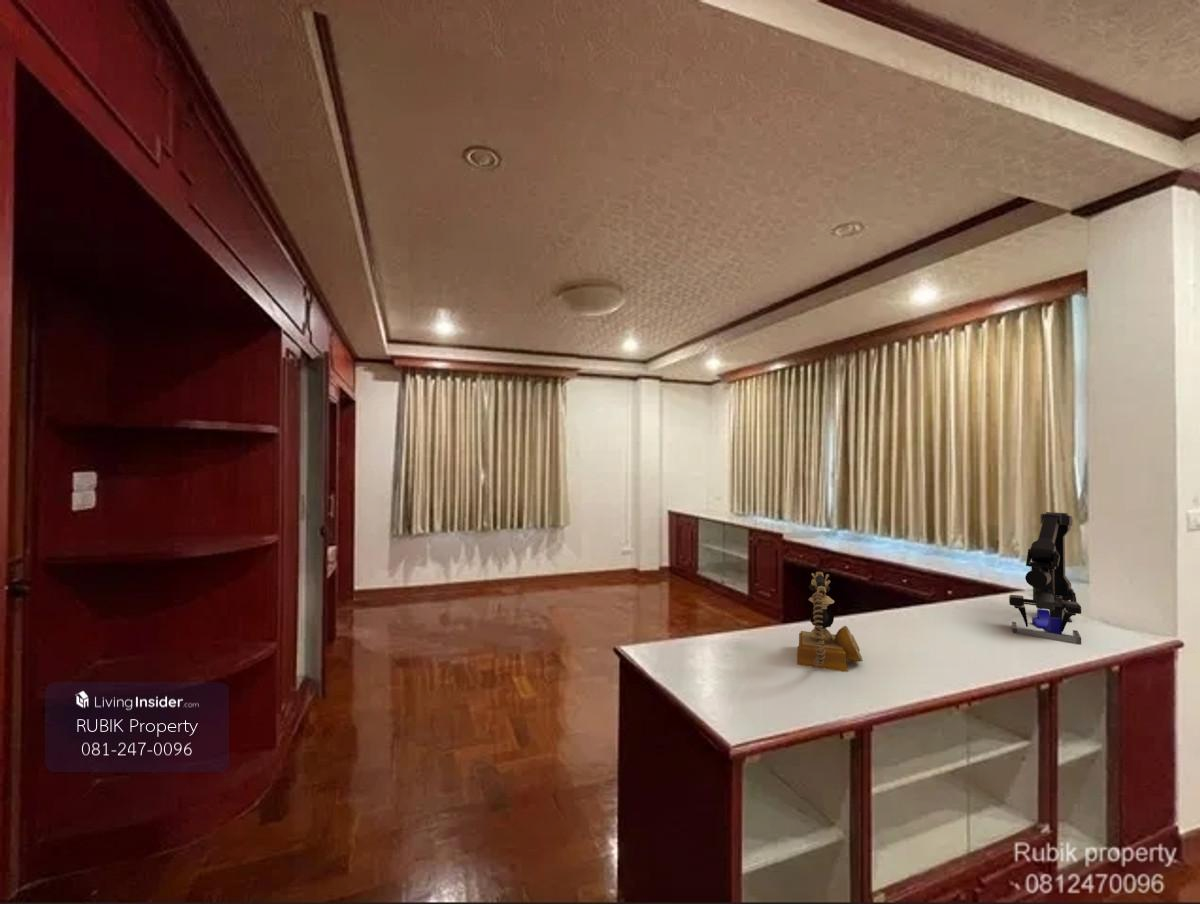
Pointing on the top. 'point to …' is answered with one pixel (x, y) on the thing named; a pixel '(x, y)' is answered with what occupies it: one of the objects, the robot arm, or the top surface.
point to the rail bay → (1048, 634)
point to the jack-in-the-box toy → (825, 634)
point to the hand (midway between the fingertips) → (1044, 629)
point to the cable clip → (1047, 622)
